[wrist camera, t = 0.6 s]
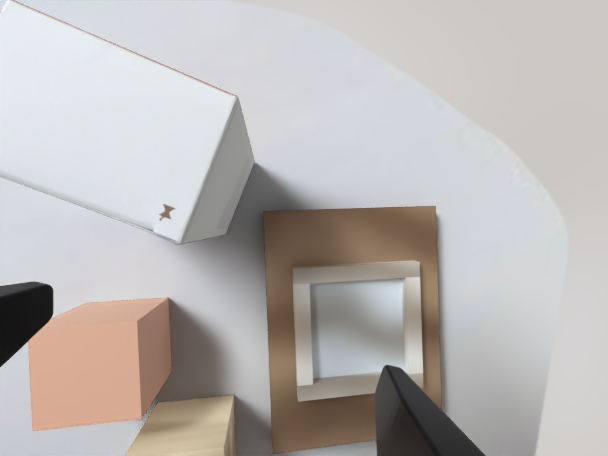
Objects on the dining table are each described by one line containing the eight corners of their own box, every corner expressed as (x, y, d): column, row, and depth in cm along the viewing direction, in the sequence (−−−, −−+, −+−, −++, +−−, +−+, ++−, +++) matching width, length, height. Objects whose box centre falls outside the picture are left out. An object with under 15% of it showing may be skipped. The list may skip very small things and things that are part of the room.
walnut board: (433, 420, 22) (449, 439, 20) (272, 440, 21) (273, 463, 19) (426, 206, 22) (442, 205, 20) (263, 211, 21) (263, 210, 19)
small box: (256, 161, 21) (246, 96, 10) (226, 237, 20) (184, 249, 10) (141, 113, 20) (0, -13, 9) (108, 192, 19) (-74, 154, 9)
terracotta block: (172, 371, 20) (141, 418, 15) (91, 378, 19) (32, 431, 15) (168, 297, 20) (137, 320, 15) (88, 302, 19) (27, 328, 14)
